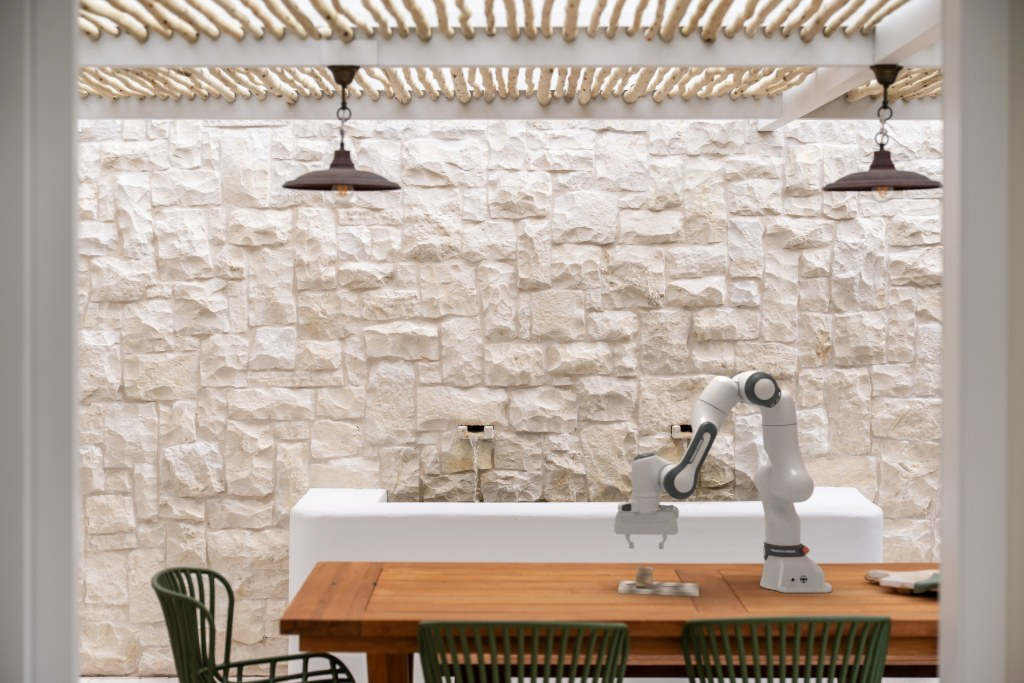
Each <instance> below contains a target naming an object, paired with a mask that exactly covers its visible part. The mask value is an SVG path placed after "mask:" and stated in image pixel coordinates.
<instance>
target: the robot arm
mask: <svg viewBox="0 0 1024 683" xmlns="http://www.w3.org/2000/svg"><path fill="white" fill-rule="evenodd" d="M739 403H741V404H745V405H749V406H758V408H759V410H760V414H761V423H762V424H761V425H762V427H761V429H762V440H763V441H762V442H763V449H764V451H765V453H766V454H767V456H768V458H769V460H770V464H765V465H762V466H761V467H759V468H758V469H757V470H756V471H755V474H754V476H753V477H754V478H753V482H754V486H755V488H756V490H757V491H758V493H759V496H760V499H761V503H762V504H761V505H762V508H763V512H764V523H765V524H764V525H765V528H764V529H765V534H764V535H765V539H764V540H765V541H764V542H763V552H762V553H763V569H762V575H761V580H760V583H759V586H760V587H762V588H763V589H768V590H772V591H777V592H779V593H786V594H787V593H788V594H789V593H795V594H797V593H798V594H799V593H804V594H805V593H806V594H808V593H809V594H811V593H818V594H820V593H823V594H824V593H825V594H826V593H828V594H829V593H830V592H832V591H833V587H832V585H831V583H829V582H827V581H826V578H825V573H824V571H823V569H822V567H821V566H819V565H818V564H817V563H816V562H815V561H814V560H812V559H811V558H810V557H809V556H808V555H807V554H809V553H810V550H811V549H809V547H808V546H806V545H805V544H803V543H801V518H800V516H799V515H798V513H797V511H796V508H795V507H796V506H795V504H794V503H796V504H797V503H803V502H806V501H808V500H809V499H810V498H811V497H812V496H813V494H814V490H815V485H814V484H815V483H814V480H813V478H812V477H811V475H810V474H809V472H808V471H807V469H806V466H805V463H804V460H803V457H802V453H801V449H800V444H799V432H798V431H799V430H798V419H797V411H796V410H797V409H796V406H795V402H794V397H793V395H792V394H791V392H789V391H787V390H785V389H781V388H780V387H779V385H778V383H777V381H776V379H775V378H774V377H773V376H772V375H771V374H769V373H768V372H764V371H759V370H753V369H751V370H741V371H739V372H737V373H735V374H733V375H732V376H730V377H728V376H727V375H717V376H715V377H713V378H712V379H711V380H710V381H709V383H708V384H707V385H706V386H705V388H703V391H702V392H701V393H700V395H699V396H698V398H697V400H696V401H695V403H694V405H693V406H692V409H691V412H690V416H689V423H690V426H691V429H692V430H691V431H692V435H691V436H692V437H691V441H690V443H689V445H688V447H687V449H686V451H685V452H684V455H683V457H682V458H681V461H680V462H679V463H678V464H677V463H675V462H671V461H668V460H666V459H664V458H662V457H660V456H659V455H657V454H656V453H654V452H649V453H642V454H639V455H637V456H635V457H634V458H633V460H632V462H631V473H630V476H631V477H630V478H631V479H630V481H631V486H632V491H631V498H630V499H627V500H624V501H621V502H619V503H618V504H617V512H616V514H615V518H614V525H613V526H614V527H613V528H614V529H613V532H614V533H615V534H616V535H625V540H626V541H627V543H628V549H635V548H634V547H635V544H634V541H632V540H631V539H630V538H631V535H647V536H649V535H653V536H654V535H658V536H659V535H661V536H662V540H661V542H658V549H659V550H663V549H664V548H665V546H664V544H665V542H666V541H667V539H668V536H670V535H671V536H675V535H677V534H678V533H679V526H678V518H679V516H680V511H679V508H678V507H677V506H675V505H674V504H669V505H666V504H661V502H660V494H661V493H666V494H667V495H669V497H671V498H673V499H675V500H686V499H688V498H689V497H691V496H692V495H693V494H694V493H695V491H696V490H697V487H698V481H699V473H700V471H701V468H702V467H703V465H704V463H705V460H706V459H707V457H708V454H709V452H710V450H711V448H712V446H713V444H714V442H715V440H716V438H717V436H718V434H719V433H720V431H721V429H722V428H723V426H724V425H725V423H726V420H728V418H729V416H730V413H731V412H732V410H733V409H734V408H735V406H736V405H737V404H739Z"/></svg>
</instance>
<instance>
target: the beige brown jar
mask: <svg viewBox="0 0 1024 683" xmlns="http://www.w3.org/2000/svg"><path fill="white" fill-rule="evenodd" d="M635 574H636V575H635V578H636V579H635V581H636V588H639V589H652V587H653V582H654V567H652V566H651V567H650V566H637V567H636V572H635Z"/></svg>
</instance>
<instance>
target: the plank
mask: <svg viewBox="0 0 1024 683" xmlns="http://www.w3.org/2000/svg"><path fill="white" fill-rule="evenodd" d="M617 594H627V595H628V594H629V595H630V594H631V595H632V594H634V595H651V596H652V595H654V596H655V595H657V596H679V597H680V596H682V597H700V588H699V583H694V582H693V583H692V582H691V583H690V582H667V581H653V587H652V589H639V588H636V580H621V579H620V580H619V585H618V589H617Z"/></svg>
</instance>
